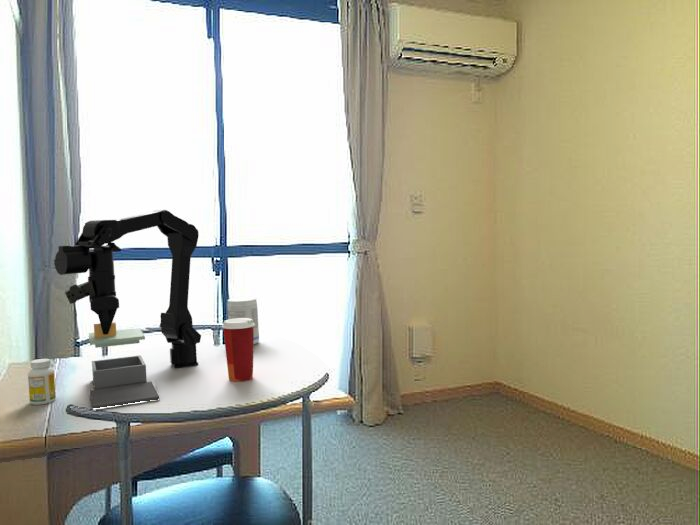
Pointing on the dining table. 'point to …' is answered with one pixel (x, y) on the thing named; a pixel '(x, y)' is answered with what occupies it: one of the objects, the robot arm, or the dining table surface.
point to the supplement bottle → (41, 382)
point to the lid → (115, 336)
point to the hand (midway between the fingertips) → (105, 333)
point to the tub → (118, 372)
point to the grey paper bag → (244, 312)
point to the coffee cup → (239, 348)
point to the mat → (123, 394)
